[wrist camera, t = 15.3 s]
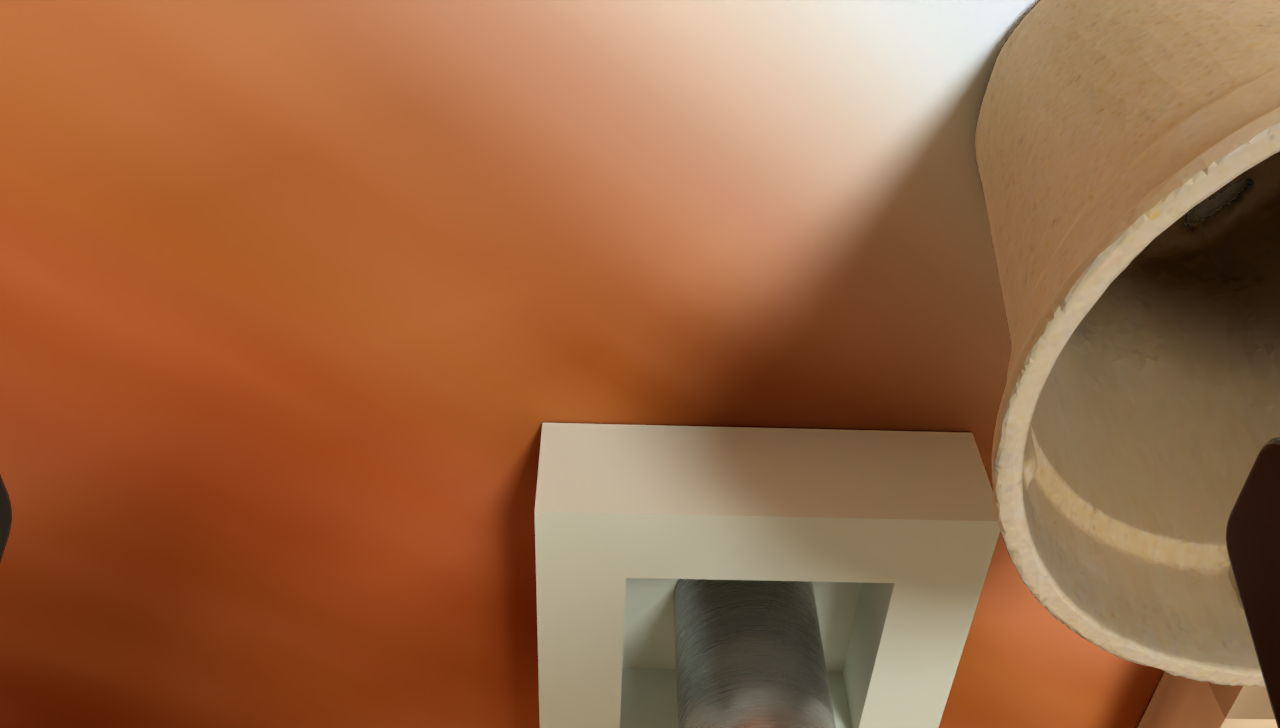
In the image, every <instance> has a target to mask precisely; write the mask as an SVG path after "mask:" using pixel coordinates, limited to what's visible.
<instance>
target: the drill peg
mask: <svg viewBox="0 0 1280 728" xmlns="http://www.w3.org/2000/svg"><path fill="white" fill-rule="evenodd" d="M673 606H674V632H675V658H676V684H677V710H678V728H836V726H835V719H834V713H833V707H832V701H831V695H830V688H829V682H828V676H827V670H826V664H825V658H824V651H823V645H822V639H821V633H820V627H819V620H818V614H817V608H816V602H815V596H814V590H813V584H812V582H810V581H759V580H707V579H679V580H678V582H677V584H676V586H675V590H674V595H673Z"/></svg>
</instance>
